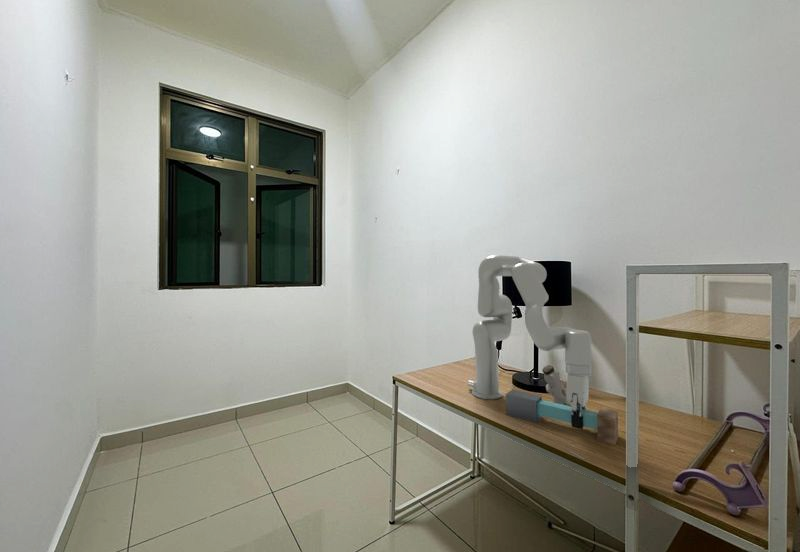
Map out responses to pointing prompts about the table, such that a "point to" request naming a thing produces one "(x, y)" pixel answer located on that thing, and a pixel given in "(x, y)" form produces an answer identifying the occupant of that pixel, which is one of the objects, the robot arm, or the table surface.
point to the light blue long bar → (565, 413)
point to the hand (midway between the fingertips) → (579, 424)
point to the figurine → (554, 385)
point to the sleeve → (522, 405)
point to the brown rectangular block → (607, 425)
